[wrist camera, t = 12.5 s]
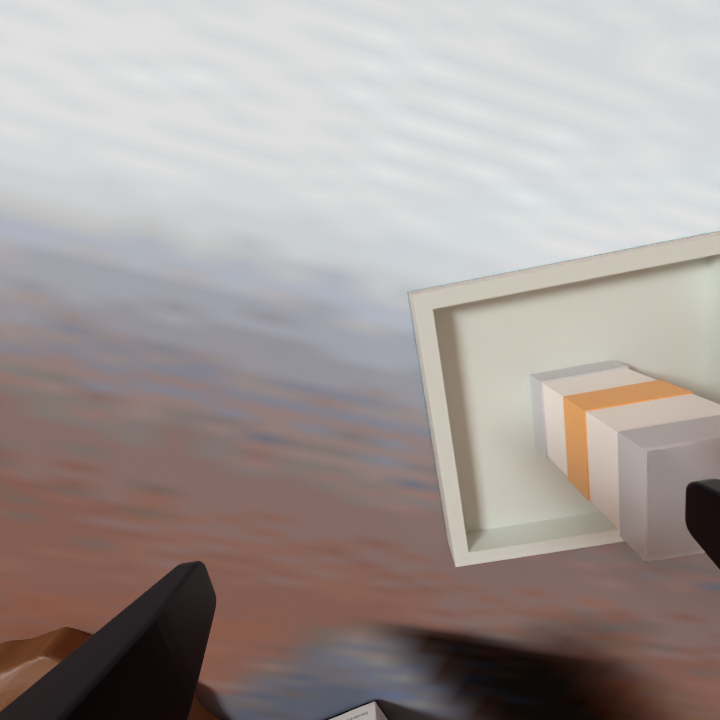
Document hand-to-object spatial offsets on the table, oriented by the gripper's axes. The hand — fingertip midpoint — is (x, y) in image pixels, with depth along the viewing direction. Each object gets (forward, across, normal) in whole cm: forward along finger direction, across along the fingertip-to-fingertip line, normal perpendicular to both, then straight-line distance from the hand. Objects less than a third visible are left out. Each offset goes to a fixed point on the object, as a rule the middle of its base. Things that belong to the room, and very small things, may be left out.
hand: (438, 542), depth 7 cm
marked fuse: (+12, -9, +4) cm, 16 cm away
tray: (+13, -9, +4) cm, 16 cm away
